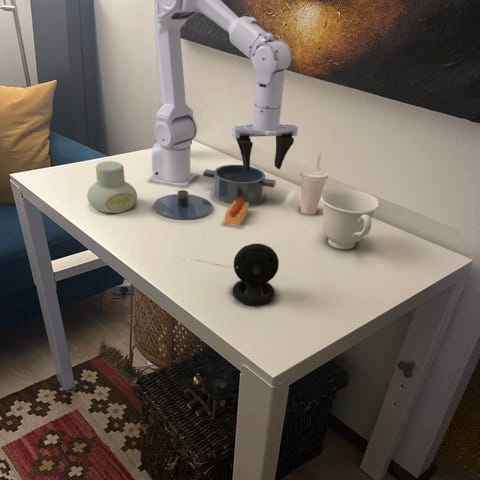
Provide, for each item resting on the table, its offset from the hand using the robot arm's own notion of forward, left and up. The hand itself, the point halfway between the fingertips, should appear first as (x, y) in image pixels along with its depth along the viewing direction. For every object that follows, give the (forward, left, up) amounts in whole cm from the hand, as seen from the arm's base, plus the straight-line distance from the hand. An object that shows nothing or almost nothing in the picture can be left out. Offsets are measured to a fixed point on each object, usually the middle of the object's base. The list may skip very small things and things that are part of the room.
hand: (261, 168), depth 114 cm
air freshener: (-31, -14, -10) cm, 35 cm away
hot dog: (-3, -8, -10) cm, 13 cm away
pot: (-6, +5, -10) cm, 12 cm away
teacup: (+22, -12, -10) cm, 27 cm away
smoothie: (+12, +3, -10) cm, 16 cm away
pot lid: (-16, -8, -9) cm, 20 cm away
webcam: (+8, -37, -10) cm, 39 cm away
